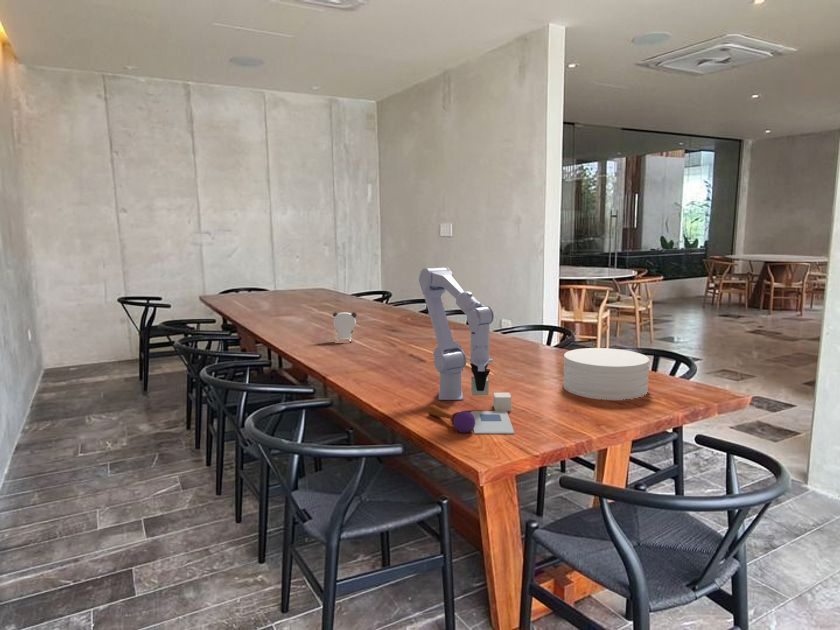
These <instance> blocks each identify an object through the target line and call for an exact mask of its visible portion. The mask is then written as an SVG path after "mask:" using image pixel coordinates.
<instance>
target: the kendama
mask: <svg viewBox="0 0 840 630" xmlns="http://www.w3.org/2000/svg"><path fill="white" fill-rule="evenodd" d="M427 413H428V415H429V416H433V417H440V418H445V419H448V420H450V422H451V424H452V425H453V427H454V428H455V429H456V430H457V431H458V432H460V433H462V434H466V433H470V432H471V431H474V430H473V428H474V426H475V418H474V416H473V415H472V414H471V411H468V410H467V411H466V410H463V411H457V412H454V413H452V414H450V413H449V412H448V411H445V410H444V409H442V408H440V407H439V406H437V405H436V404H431V405H429V406H428V407H427Z"/></svg>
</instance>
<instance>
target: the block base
mask: <svg viewBox="0 0 840 630" xmlns="http://www.w3.org/2000/svg"><path fill="white" fill-rule="evenodd" d="M470 378H471V380H470V381H471V382H470V383H471V384H470V385H471V387H470V388H471V395H472V396H489V393H490V392H489V383H490V381H489V378H488V376H487V379H486V383H485V388H484V391H477V389H476V383H475V378H474V376H471V377H470Z"/></svg>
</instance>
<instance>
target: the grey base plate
mask: <svg viewBox="0 0 840 630" xmlns="http://www.w3.org/2000/svg"><path fill="white" fill-rule="evenodd" d="M470 413H471V414H472V415H473V416H474V418H475V426H474V428H473V430H472V431H473V434H474V435H514V434H515V430H514V427H513V425H512V422H511V419H510V417H509V413H508V411H495V410H493V411H492V410H485V411H484V410H482V411H481V410H478V411H477V410H472V411H470Z"/></svg>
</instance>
